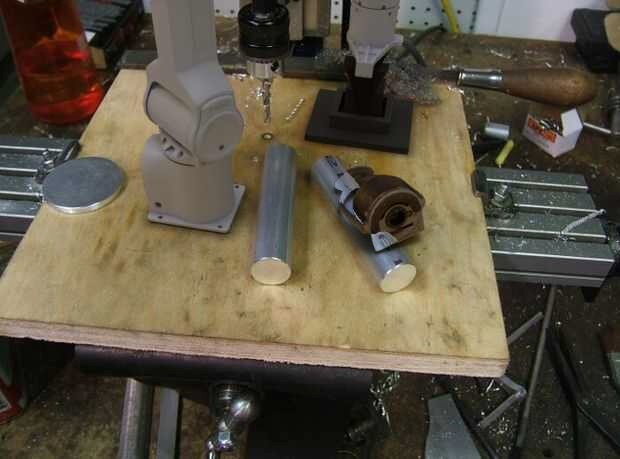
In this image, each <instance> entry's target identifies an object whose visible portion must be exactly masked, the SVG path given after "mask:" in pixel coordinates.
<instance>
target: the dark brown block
mask: <svg viewBox="0 0 620 459" xmlns="http://www.w3.org/2000/svg"><path fill="white" fill-rule="evenodd" d="M386 83H387V78H386V77H384V78H383V79H382V80H381V82H380V84H379V85H378V88H377V90H376V93H375V96H374V99H373V102H372V104H371V107H370V108H369V110H365V109H358V108H354V105H353V100H352V90H351V84H350V80H349V78H347V83H346V86H345V88H346V93H345V103H344V113H351V114H358V115H366V116H373V117H380V115H381V109H382V103H383V97H384V93H385V89H386Z"/></svg>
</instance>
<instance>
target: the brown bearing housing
mask: <svg viewBox="0 0 620 459" xmlns="http://www.w3.org/2000/svg"><path fill="white" fill-rule="evenodd" d="M346 170H347V172H348V173H349V174H350V175H351V176H352V177H353V178H354V179H355V181H356V182H357V183H358V184H359V186H360V188H359V189H357V190H356V192H355V194H354V197H353V200H352V211H353V210H354V212H355V213H356V215H357V216H358V218H359V219H360V220H361V222H362V223H363V224H362V223H361V222H360V221H359V220H358V219H357V218H356V217H355V215H354V212H351V211H350V210H349V209H348V207H346V206H345V204H342V202H341V203H339V202H338V205H339V204H340V207H339V209H340V208H341V209H340V211H341V210H342V211H341V213H342V214H343V213H344V214H345V215H344V214H343V215H344V216H345V217H346V218H347V219H348V220H349V221H350V222H351V223H352V225H354V227H356V228H357V230H358V231H359V232H360V233H361V234H364V235H370V234H376V233H378V232H382V231H383V232H384V231H385V232H388V233H390V234H391V235H392V236H394V237H395V238H396V239H397V240H398V241H399V242H398V243H400V242H402V241H404V240H406V239H409V238H411V237H413V236H415V235H417V234H419V233H422V232H423V231H425V229H426V227H425V221H424V215H423V208H425V207H426V198H425V197H424V195H423V194H422V193H420V191H418V190H417V189H416V188H414V187H413V186H412V185H410V184H409V183H408V182H406V181H405V180H404V179H403V178H402V177H399V176H396V175H391V174H384V173H383V174H382V173H381V174H375V170H374V169H373V168H372V167H370V166H365V165H358V166H354V167H353V166H352V167H350V168H348V169H346Z"/></svg>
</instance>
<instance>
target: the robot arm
mask: <svg viewBox="0 0 620 459" xmlns="http://www.w3.org/2000/svg"><path fill="white" fill-rule="evenodd" d="M400 2H401V0H351V3H350V4H351V6H350V15H349V28H348V30H347V32H346V42H347V43H348V45H349V48H350V50H351V52H352V55H347V54H346V55H345V56H344V60H343V69H344V72H345V73H346V75H347V79H349V80H350V84H351V90H352V100H353V105H354V108H358V109H365V110H369V108H370V107H371V104H372V102H373V99H374V96H375V93H376V90H377V88H378V85H379V84H380V82H381V80H382V79H383V78H386V76H387V74H388V72H389V70H390V63H387V62H385V60H386V58H387V56H388V55H389V53H390V52H391V50H392V49H393V47H394V48H395V47H396V48H397V47H398V48H399V47H403V45H404V44H403V43H404V39H405V38H404V35H403V34H398V33H396V28H397V21H398V15H399V8H400ZM214 4H215V1H214V0H149V6H150V13H151V20H152V26H153V33H154V39H155V40H154V41H155V46H156V53H157V58H156V59H154V60H153V61H151V62H150V63H149V64H148V65H147V66H146V67H145V75H146V86H145V90H144V93H143V98H142V107H143V112H144V114H145V116H146V118H147V119H148V120H149V121H150V122H151V123H153V124H154V125H155V126H157V127H158V128H157V129H158V132H159V133H152V134H150V136H148V137H147V139H146V141H145V143H144V145H143V149H142V152H141V159H140V173H141V178H142V183H143V187H144V192H145V196H146V201H147V205H148V209H149V213H148V214H147V220H148V221H149V222H155V223H159V224H166V225H172V226H178V227H185V228H191V229H197V230H202V231H203V230H204V231H210V232H215V233H223V234H226V233H229V232H230V228H231V226H232V224H233V222H234V219H235V217H236V215H237V211H238V210H239V207H240V205H241V202H242V199H243V197H244V195H245V193H246V186H245V185H243V184H237V183H235V181H234V180H235V179H234V169H233V168H234V167H233V157H232V156H233V155H232V153H234V151H235V149H236V148H237V147H238V145H239V143H240V142H241V139H242V136H243V134H244V128H245V122H244V121H245V120H244V117H243V115H242V113H241V111H240V110H239V108H238V106H237V103H236V96H235V90H234V87H233V86H232V84H231V82H230V80H229V79H228V77H227V75H226V73H225V71H224V70H223V68H222V66H221V65H220V63H219V59H218V46H217V44H218V43H217V30H216V17H215V5H214Z"/></svg>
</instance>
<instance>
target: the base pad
mask: <svg viewBox="0 0 620 459" xmlns="http://www.w3.org/2000/svg"><path fill="white" fill-rule="evenodd" d="M317 92H318V93H317V95H316V97H315V101H314V104H313V107H312V111H311V112H310V116H309V119H308V123H307V126H306V128H305V131H304V141H307V142H315V143H323V144H329V145H330V144H331V145H336V146H337V145H338V146H344V147H352V148H358V149H366V150H370V151H371V150H372V151H379V152H386V153H393V154H401V155H408V154H409V151H410V142H411V141H410V140H411V134H412V133H411V130H412V122H413V110H414V100H410V99H404V98H396V97H395V94H393V93H385V92H384V97H383V103H382V109H381V115H380V117H373V116H366V115H358V114H351V113H344V103H345V93H346V87H337V89H336V90H335V89H327V88H319V89H318V91H317Z"/></svg>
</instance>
